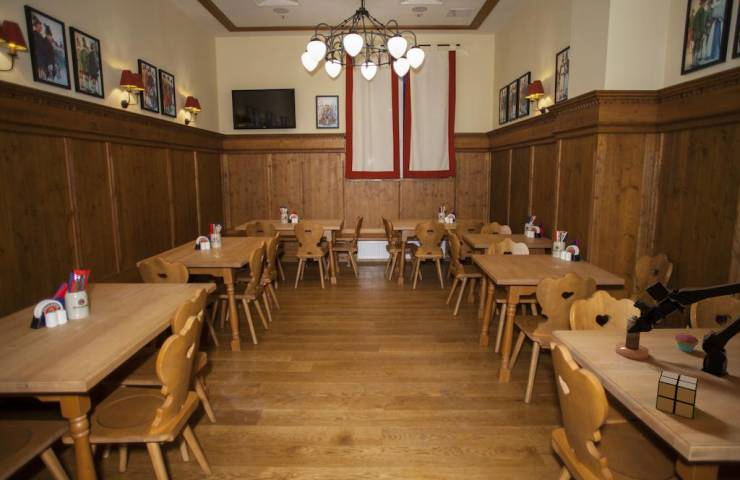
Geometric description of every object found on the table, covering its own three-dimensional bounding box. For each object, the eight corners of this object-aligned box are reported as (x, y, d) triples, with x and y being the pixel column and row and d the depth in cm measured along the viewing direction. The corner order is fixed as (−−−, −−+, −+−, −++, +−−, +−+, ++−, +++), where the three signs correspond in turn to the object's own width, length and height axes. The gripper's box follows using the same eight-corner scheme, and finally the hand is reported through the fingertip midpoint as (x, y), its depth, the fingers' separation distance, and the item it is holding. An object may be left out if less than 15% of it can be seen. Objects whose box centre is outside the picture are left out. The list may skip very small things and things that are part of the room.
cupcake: (697, 355, 184) (700, 328, 183) (672, 350, 190) (675, 324, 188) (697, 348, 191) (700, 322, 189) (674, 344, 196) (676, 318, 194)
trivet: (654, 357, 184) (655, 350, 183) (635, 362, 179) (635, 355, 179) (627, 346, 195) (628, 340, 194) (609, 351, 190) (609, 344, 190)
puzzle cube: (659, 396, 152) (662, 370, 150) (694, 406, 145) (698, 378, 144) (655, 409, 144) (658, 380, 142) (692, 419, 138) (696, 390, 136)
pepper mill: (639, 350, 183) (642, 318, 181) (625, 348, 185) (628, 316, 183) (637, 346, 188) (640, 314, 185) (624, 344, 190) (627, 312, 187)
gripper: (651, 288, 187) (620, 308, 196) (644, 298, 173) (611, 319, 182) (671, 310, 183) (638, 329, 192) (666, 322, 169) (631, 342, 178)
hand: (629, 329), depth 186 cm, fingers open, 9 cm apart
